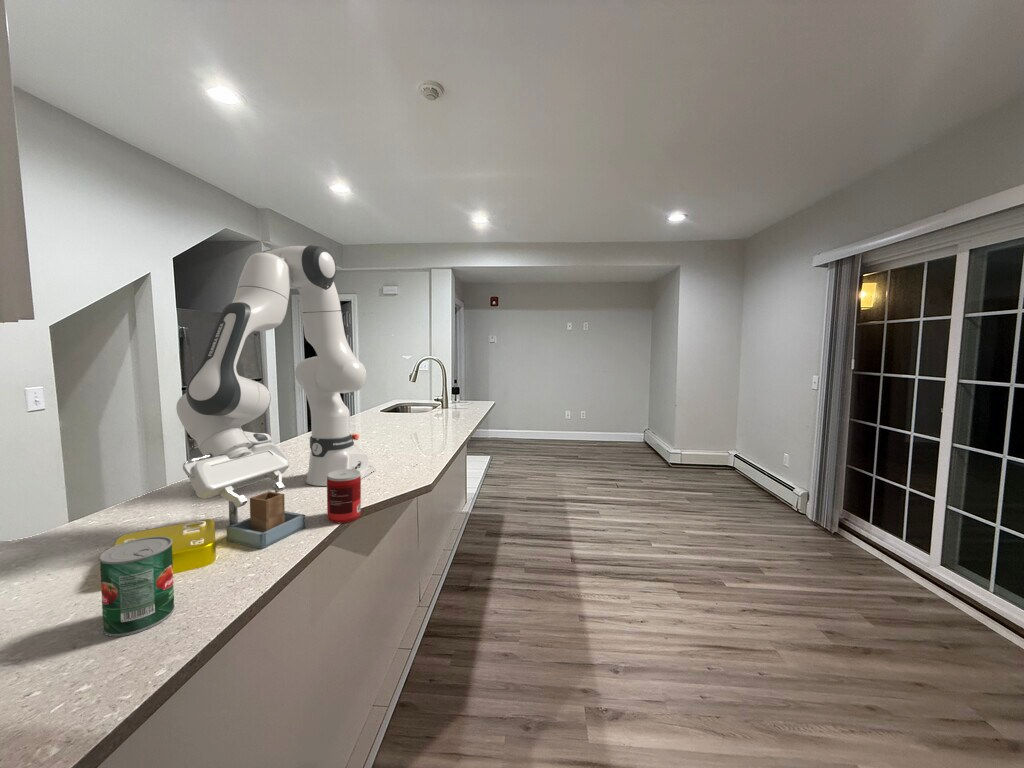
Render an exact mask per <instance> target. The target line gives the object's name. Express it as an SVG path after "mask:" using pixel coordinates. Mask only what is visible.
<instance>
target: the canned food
mask: <svg viewBox="0 0 1024 768" xmlns="http://www.w3.org/2000/svg"><path fill="white" fill-rule="evenodd" d="M361 481H362V479H361V474H360V471H358V470H354V469H342V470H336V471H333V472H331V473H329V474H328V475H327V486H326V499H327V500H326V504H327V505H326V508H327V512H326V514H327V515H326V516H327V519H328V521H329V522H331V523H334V524H346V523H350V522H353V521H355V520H357V519H358V518H359V517H360V516H361V514H362V513H361V509H362V508H361V507H362V505H361V504H362V503H361V502H362V499H361V498H362V497H361V496H362V494H361V492H362V491H361V489H362V487H361V486H362V482H361Z"/></svg>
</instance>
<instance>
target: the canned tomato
mask: <svg viewBox="0 0 1024 768" xmlns="http://www.w3.org/2000/svg"><path fill="white" fill-rule="evenodd" d="M172 559H173V556H172V539H171V538H168V537H162V536H157V537H147V538H141V539H136V540H132V541H128V542H125V543H122V544H119V545H117V546H115V545H114V546H113V547H110V548H109V549H107V550H105V551H103V552H102V553H101V554H100V555H99V568H100V569H99V570H100V588H101V589H100V591H101V609H102V611H101V612H102V613H101V614H102V632H103V631H104V632H103V634H104V633H105V635H106V634H107V635H106V636H108V635H111V636H110V637H114V636H117V637H125V635H126V636H130V635H134V634H137V633H141V632H143V631H147V630H149V629H151V628H153V627H154V626H157V625H158V624H161V623H162V622H164V621H165V620H167V619H168V618H169V617H171V616H172V614H173V613H174V612H175V611H174V610H175V594H174V593H175V590H174V588H175V586H174V574H173V560H172Z"/></svg>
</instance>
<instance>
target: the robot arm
mask: <svg viewBox="0 0 1024 768" xmlns="http://www.w3.org/2000/svg"><path fill="white" fill-rule="evenodd" d="M336 274H337V264H336V260H335V257H334V256H333V254H332V253H331V252H330V251H329V250H328V249H327V248H326V247H323V246H320V245H315V244H314V245H313V244H312V245H311V244H310V245H289V246H286V247H279V248H275V249H272V248H271V249H266V250H262V251H260V252H256V253H253V254H251V255H250V256H249V257H248V259H247V260H246V262H245V264H244V267H243V269H242V271H241V274H240V276H239V280H238V282H237V283H238V284H237V287H236V291H235V295H234V298H233V300H232V302H230V303H228V304H227V305H225V307H224V308H223V309H222V311H221V312H220V314H219V316H218V318H217V321H216V323H215V325H214V328H213V330H212V332H211V335H210V337H209V341H208V343H207V345H206V348H205V350H204V353H203V356H202V358H201V360H200V363H199V365H198V366H197V368H196V370H195V371H194V373H193V374H192V376H191V377H190V378H189V380H188V382H187V384H186V387H185V393H184V394H183V395H182V396H180V398H179V399H178V400H177V402H176V407H175V408H176V413H177V416H178V419H179V420H180V422H181V425H182V427H183V428H184V429H185V431H186V432H187V434H188V435H189V436H190V438H191V439H193V440H194V441H195V442H196V443H197V445H198V446H197V447H198V449H199V451H200V452H201V454H202V455H200V456H198V457H197V456H196V457H189V458H190V459H189V458H188V459H186V461H185V462H183V464H182V469H183V471H184V472H185V474H186V476H188V478H189V481H190V483H191V486H192V488H193V491H194V490H195V492H196V493H195V492H194V493H195V494H196V495H197V496H198V497H199V498H201V499H204V500H207V499H209V498H212V497H213V498H214V497H216V496H218V495H220V496H221V498H222V499H225V500H226V501H228V502H229V501H231V502H233V503H234V505H235V506H236V507H237V509H238V508H241V507H242V506H243V507H244V506H245V505H246V504H247V503H248V499H247V498H246V496H245V495H244V494H241V495H239V494H237V492H235V490H236V489H240V488H242V487H246V486H249V485H252V484H255V483H258V482H260V481H264V480H267V479H270V481H272V482H274V485H273V486H272V490H273V491H274V492H275V493H281V492H283V491H284V489H285V488H286V485H284V483H283V482H282V481H283V477H282V476H283V475H282V474H284V473H285V472H286V471H287V470H288V468H289V467H290V460H289V458H288V456H287V454H285V452H284V451H283V450H282V449H281V447H279V445H277V444H276V443H274V442H272V440H273V439H272V437H271V435H270V434H269V433H262V432H261V433H259V432H253V431H252V432H251V431H245V430H244V429H242V426H245V425H247V424H249V423H251V422H253V421H255V420H257V419H258V418H260V417H262V416H263V415H264V414H265V413H266V412H267V410H268V409H269V407H270V404H271V393H270V390H269V389H268V387H267V386H266V385H264V384H263V383H261V382H258V381H256V380H254V379H251V378H248V377H244V376H241V375H239V373H238V371H237V365H238V362H239V359H240V356H241V352H242V350H243V348H244V344H245V341H246V340H247V338H248V336H249V335H250V334H251V333H253V332H267V331H270V330H273V329H276V328H277V327H279V326H280V325H281V324H282V323H283V321H284V320H285V317H286V315H287V309H288V306H289V301H290V300H289V299H290V293H291V292H290V291H291V289H292V290H295V289H297V291H298V292H299V306H300V312H301V320H302V327H303V332H304V338H305V340H306V342H308V344H310V345H311V347H313V349H314V351H315V353H316V356H312V357H308V358H305V359H302V360H301V361H299V362H298V364H297V366H296V367H295V371H294V376H295V379H296V381H297V383H298V384H299V385H300V386H301V387H302V389H303V390H304V394H305V396H306V399H307V402H308V407H309V411H310V420H311V421H310V423H311V424H310V425H311V428H310V429H311V435H310V437H309V448H310V452H309V460H308V469H307V472H306V479H305V482H306V483H307V484H308V485H311V486H316V487H317V486H318V487H327V475H328V474H329V473H331V472H333V471H336V470H342V469H354V470H358V471H360V474H361V480H363V479H365V478H366V477H367V476H369V475H371V474H372V473H373V471H374V472H375V471H376V470H377V469H376V466H374V465H371V464H369V457H368V454H367V453H366V452H365V451H364V450H362V449H360V448H359V447H358V446H357V445H355V443H354V440H355V441H358V440H359V438H360V435H359V433H351V426H350V425H351V423H350V422H351V420H350V419H351V414H350V410H349V407H348V406H347V405H345V403H344V401H343V398H342V396H341V394H348V393H353V392H357V391H360V390H361V389H362V388H363V387H364V386H365V384H366V383H367V378H368V374H367V370H366V367H365V365H364V364H363V363H362V362H361V361H359V359H358V358H357V357H356V356H355V354H354V352H353V351H352V349H351V347H350V345H349V342H348V340H347V336H346V333H345V328H344V327H345V326H344V321H343V314H342V313H343V312H342V307H341V306H342V305H341V301H340V297H339V294H338V291H337V287H336V284H335V282H334V280H335V279H336ZM187 463H188V464H187ZM371 472H372V473H371ZM365 476H366V477H365Z"/></svg>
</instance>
